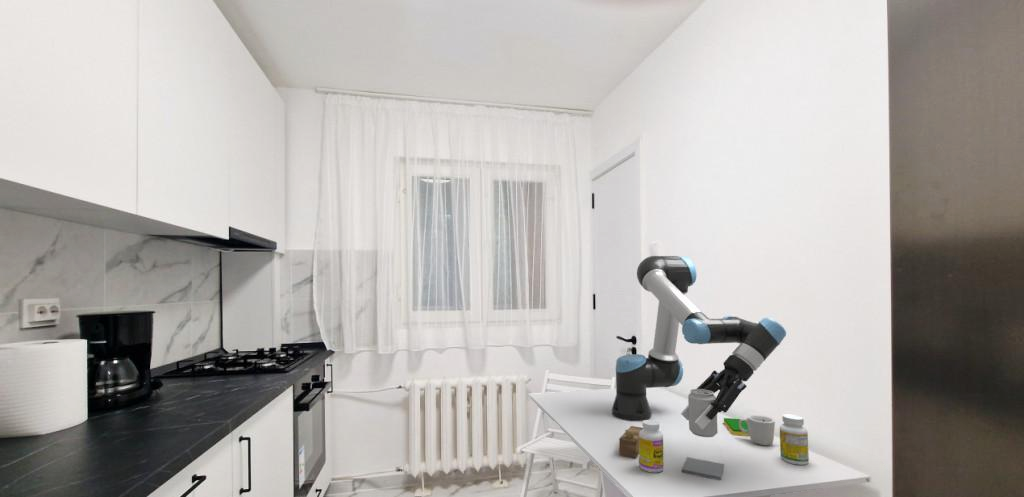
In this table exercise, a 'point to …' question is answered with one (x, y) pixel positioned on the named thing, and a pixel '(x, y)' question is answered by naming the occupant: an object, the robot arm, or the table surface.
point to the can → (697, 406)
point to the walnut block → (630, 442)
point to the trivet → (703, 468)
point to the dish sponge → (735, 426)
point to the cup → (759, 429)
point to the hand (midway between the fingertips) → (691, 421)
